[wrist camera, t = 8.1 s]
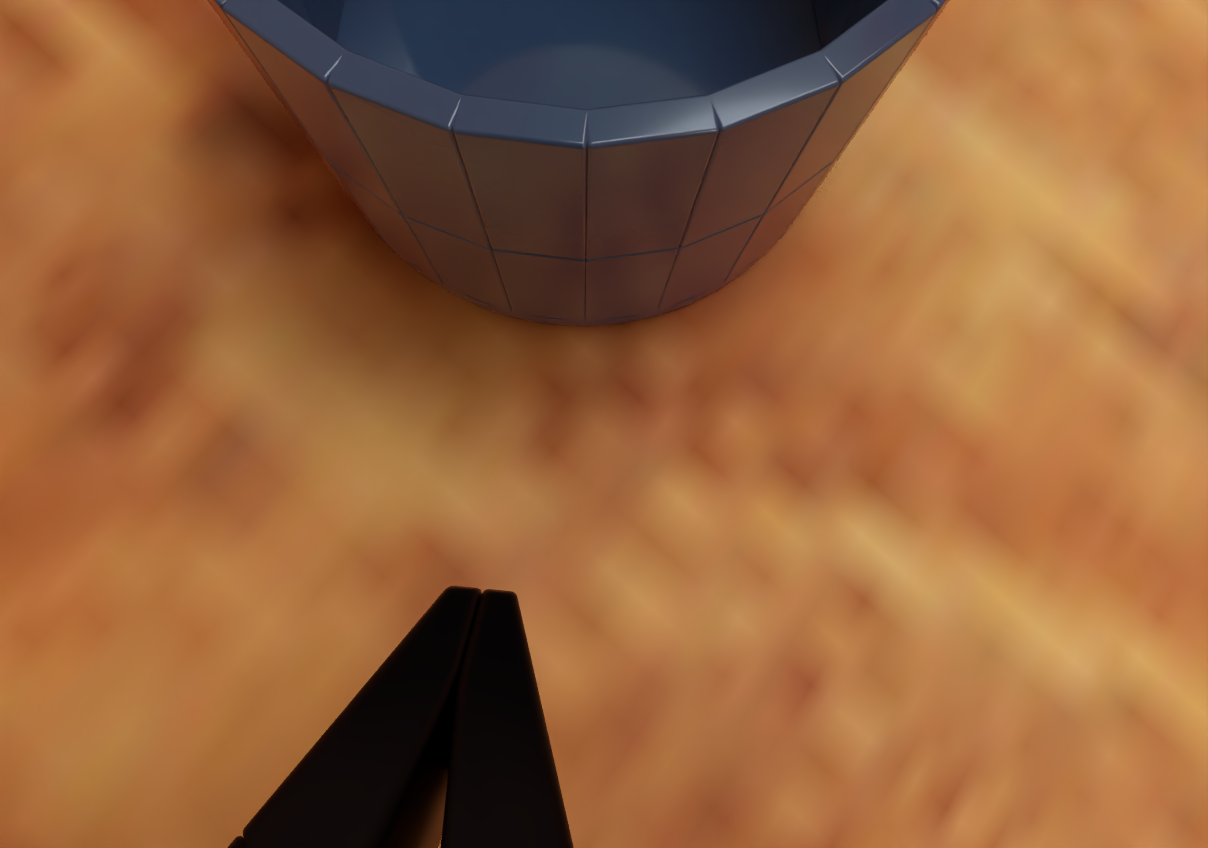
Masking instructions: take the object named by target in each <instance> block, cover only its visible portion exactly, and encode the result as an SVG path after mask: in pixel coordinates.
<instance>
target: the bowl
mask: <svg viewBox="0 0 1208 848" xmlns="http://www.w3.org/2000/svg"><path fill="white" fill-rule="evenodd" d="M207 1H208V2H209V3H210V5H211V6H212V7H213V9H214V10H215V12H216V13H217V14H218V16H219V17H220V19H221V20H222V21H223V23H224V24H225V26H226V27H227V28H228V30H229V31H230V33H231V34H232V35H233V37H234V38H235V40H236V41H237V42H238V44H239V45H240V46H241V48H242V49H243V51H244V52H245V53H246V55H247V56H248V58H249V59H250V60H251V62H252V63H253V65H254V66H255V67H256V69H257V70H258V72H259V73H260V74H261V76H262V77H263V78H264V80H265V81H266V83H267V84H268V85H269V87H270V88H271V90H272V91H273V92H274V94H275V95H276V97H277V98H278V99H279V101H280V102H281V104H282V105H283V106H284V108H285V109H286V111H287V112H288V113H289V115H290V116H291V118H292V119H293V120H294V122H295V123H296V124H297V126H298V127H299V129H300V130H301V131H302V133H303V134H304V136H305V137H306V138H307V140H308V141H309V143H310V144H311V145H312V147H313V148H314V150H315V151H316V152H317V154H318V155H319V157H320V158H321V159H322V161H323V162H324V163H325V165H326V166H327V168H328V169H329V170H330V172H331V173H332V175H333V176H334V177H335V179H336V180H337V182H338V183H339V184H340V186H341V187H342V189H343V190H344V191H345V192H346V194H347V195H348V196H349V198H350V199H351V200H352V201H353V203H354V204H355V205H356V206H357V208H358V209H359V210H360V212H361V213H362V214H363V215H364V217H365V218H366V219H367V221H368V222H369V224H370V225H371V226H372V228H373V229H374V230H375V231H376V232H377V233H378V234H379V236H380V237H381V238H382V239H383V241H384V242H386V243H387V245H389V246H390V247H391V249H392V250H393V251H394V252H395V253H396V254H398V255H399V256H400V257H401V258H402V259H404V260H405V261H406V262H407V263H408V264H410V265H411V266H412V267H413V268H414V269H415V270H417V271H418V272H419V273H420V274H422V275H423V276H425V277H426V278H428V279H430V280H431V281H433V282H434V283H436V284H437V285H439V286H440V287H442V288H444V289H445V290H447V291H448V292H450V293H452V294H454V295H456V296H458V297H461V298H463V299H465V300H467V301H469V302H471V303H473V304H476V305H478V306H480V307H482V308H485V309H489V310H492V311H495V312H498V313H501V314H504V315H507V316H510V317H514V318H518V319H524V320H529V321H534V322H540V323H545V324H554V325H572V326H594V325H608V324H621V323H626V322H630V321H635V320H640V319H645V318H650V317H655V316H658V315H661V314H663V313H666V312H669V311H672V310H675V309H678V308H681V307H684V306H687V305H689V304H691V303H693V302H695V301H697V300H699V299H701V298H703V297H705V296H707V295H709V294H711V293H713V292H715V291H717V290H719V289H720V288H722V287H723V286H725V285H726V284H728V283H729V282H731V281H732V280H734V279H735V278H736V277H738V276H739V275H741V274H742V273H744V272H745V271H747V270H748V269H749V268H750V267H751V266H752V265H753V264H754V263H756V262H757V261H758V260H759V259H760V258H761V257H762V256H763V255H765V254H766V253H767V252H768V251H769V250H770V249H771V248H772V247H773V246H774V244H776V243H777V242H778V240H779V239H781V238H782V236H783V235H784V233H785V232H786V231H787V229H788V228H789V227H790V226H791V225H792V223H793V222H794V220H795V219H796V217H797V216H798V215H799V213H800V212H801V210H802V209H803V208H804V206H805V205H806V204H807V202H808V201H809V200H810V198H811V197H812V196H813V194H814V193H815V192H816V190H817V189H818V187H819V186H820V185H821V183H822V182H823V180H824V179H825V177H826V176H827V175H828V173H829V172H830V170H831V169H832V167H833V166H834V165H835V163H836V162H837V160H838V159H839V158H840V156H841V155H842V153H843V152H844V150H845V149H846V148H847V146H848V145H849V143H850V142H851V140H852V139H853V138H854V136H855V135H856V133H857V132H858V130H859V129H860V128H861V126H862V125H863V123H864V122H865V121H866V119H867V118H868V116H869V115H870V113H871V112H872V111H873V109H874V108H875V106H876V105H877V103H878V102H879V101H880V99H881V98H882V96H883V95H884V93H885V92H886V91H887V89H888V88H889V86H890V85H891V83H892V82H893V81H894V79H895V78H896V76H897V75H898V74H899V72H900V71H901V69H902V68H903V66H904V65H905V64H906V62H907V61H908V59H909V58H910V56H911V55H912V54H913V52H914V51H915V49H916V48H917V46H918V45H919V44H920V42H921V41H922V39H923V38H924V37H925V35H926V34H927V32H928V31H929V29H930V28H931V27H932V25H933V24H934V22H935V21H936V19H937V18H938V17H939V15H940V14H941V12H942V11H943V9H944V8H945V7H946V5H947V4H948V2H949V1H950V0H207Z"/></svg>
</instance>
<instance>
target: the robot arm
mask: <svg viewBox="0 0 1208 848" xmlns="http://www.w3.org/2000/svg"><path fill="white" fill-rule="evenodd" d="M441 836H442V839H441ZM440 839H441V848H574V847H573V843H572V839H571V834H570V830H569V825H568V821H567V816H566V812H565V807H564V803H563V798H562V794H561V790H560V785H559V781H558V776H557V772H556V767H555V763H554V758H553V754H552V749H551V745H550V741H549V736H548V732H547V727H546V723H545V718H544V714H543V709H542V705H541V700H540V696H539V692H538V687H537V683H536V678H535V674H534V669H533V665H532V660H531V656H530V651H529V647H528V643H527V638H526V634H525V629H524V625H523V620H522V616H521V611H520V607H519V603H518V598H517V596H516V594H515V593H514V592H512V591H502V590H492V589H487V590H485V591H484V592H483V593H482V592H481V590H480V589H478V588H472V587H462V586H450V587H448V588H447V589H445V590H444V592H443V593H442V594H441V595H440V596H439V597H438V599H437V600H436V601H435V602H434V603H433V604H432V606H431V607H430V608H429V609H428V610H427V612H426V613H425V614H424V615H423V616H422V618H421V619H420V620H419V621H418V622H417V623H416V625H415V626H414V627H413V628H412V629H411V631H410V632H409V633H408V634H407V635H406V637H405V638H404V639H403V640H402V641H401V643H400V644H399V645H398V646H397V647H396V648H395V650H394V651H393V652H392V653H391V654H390V656H389V657H388V658H387V659H386V660H385V662H384V663H383V664H382V665H381V666H380V667H379V669H378V670H377V671H376V672H375V673H374V675H373V676H372V677H371V678H370V679H369V681H368V682H367V683H366V684H365V685H364V686H363V688H362V689H361V690H360V691H359V692H358V694H357V695H356V696H355V697H354V698H353V700H352V701H351V702H350V703H349V704H348V705H347V707H346V708H345V709H344V710H343V711H342V713H341V714H340V715H339V716H338V717H337V719H336V720H335V721H334V722H333V723H332V724H331V726H330V727H329V728H328V729H327V730H326V732H325V733H324V734H323V735H322V736H321V738H320V739H319V740H318V741H317V742H316V743H315V745H314V746H313V747H312V748H311V749H310V751H309V752H308V753H307V754H306V755H305V757H304V758H303V759H302V760H301V761H300V762H299V764H298V765H297V766H296V767H295V768H294V770H293V771H292V772H291V773H290V774H289V776H288V777H287V778H286V779H285V780H284V781H283V783H282V784H281V785H280V786H279V787H278V789H277V790H276V791H275V792H274V793H273V795H272V796H271V797H270V798H269V799H268V800H267V802H266V803H265V804H264V805H263V806H262V808H261V809H260V810H259V811H258V812H257V814H256V815H255V816H254V817H253V818H252V820H251V821H250V822H249V823H248V824H247V825H246V827H245V828H244V830H243V837H242V836H238V837H236V838H235V839H234V840H233V842H232V843H231V844H230V845H229V846H228V848H438V846H439V842H440Z"/></svg>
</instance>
